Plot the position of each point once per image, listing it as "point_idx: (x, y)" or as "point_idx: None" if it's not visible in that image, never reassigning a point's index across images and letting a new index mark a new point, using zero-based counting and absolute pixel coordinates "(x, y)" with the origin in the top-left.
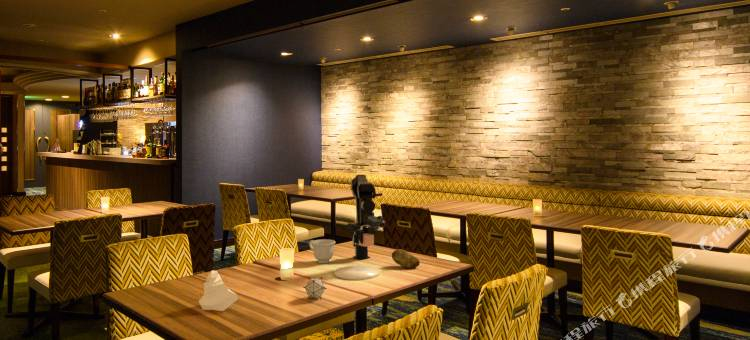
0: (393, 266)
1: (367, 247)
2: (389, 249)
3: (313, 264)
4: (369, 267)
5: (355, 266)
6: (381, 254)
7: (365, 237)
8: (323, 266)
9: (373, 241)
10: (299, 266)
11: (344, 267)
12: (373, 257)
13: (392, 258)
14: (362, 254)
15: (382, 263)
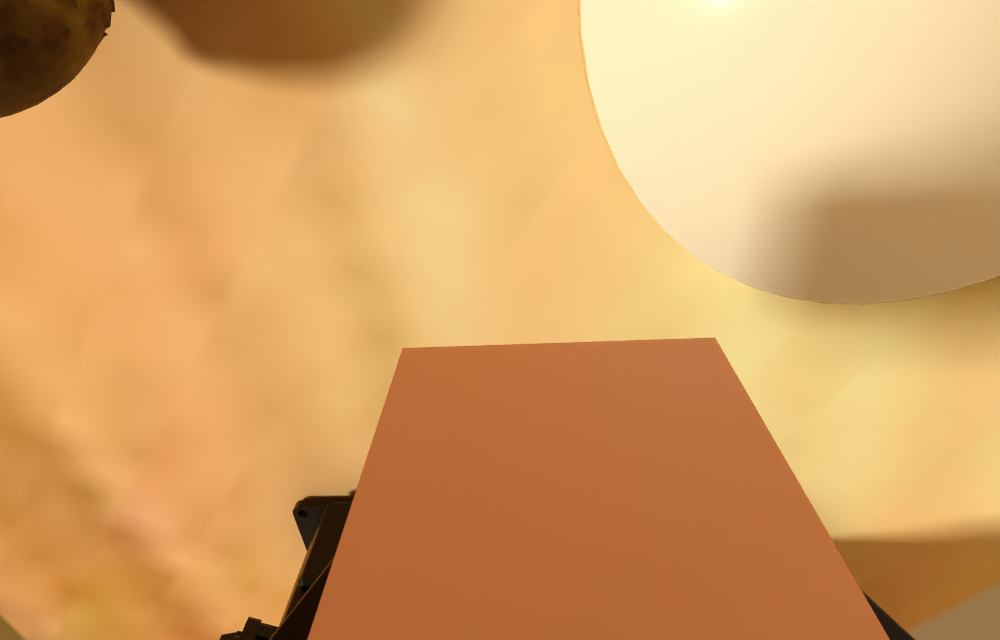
0: (181, 9)
1: (287, 610)
2: (10, 608)
3: (864, 573)
4: (635, 51)
5: (741, 238)
6: (137, 535)
7: (853, 606)
8: (869, 492)
9: (392, 426)
10: (997, 581)
11: (883, 279)
12: (257, 497)
13: (111, 5)
14: None
15: (269, 258)
